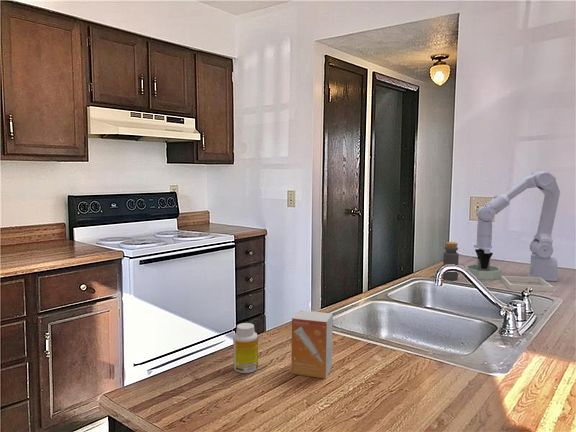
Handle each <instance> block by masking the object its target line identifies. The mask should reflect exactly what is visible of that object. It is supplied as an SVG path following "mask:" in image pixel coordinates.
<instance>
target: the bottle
mask: <svg viewBox="0 0 576 432" xmlns="http://www.w3.org/2000/svg"><path fill="white" fill-rule="evenodd" d="M458 244H459V243H458V242H456V241H455V242H453V241H447V242H445V246H444V250H445V252H443V257H442V258H443V260H442V261H443V263H442V264H443V265H445V264H455V265H458V266H459V252H457V251H458V250H459V248H458ZM458 277H459V272H458V273H457V272H447V273H445V274H444V275H443V274H442V279H443V280H446V281H453V282H454V281H457V280H459V279H458Z"/></svg>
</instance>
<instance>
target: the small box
mask: <svg viewBox="0 0 576 432" xmlns="http://www.w3.org/2000/svg"><path fill="white" fill-rule="evenodd" d="M333 315H334V314H333V313H332V312H331V313H330V312H321V311H310V310H301V309H299V310H298V311H297V312H296V313H295V314H294V315H293V317H292V318H291V367H290V368H291V370H290V371H291V372H290V373H291V375H298V376H299V375H300V376H306V377H312V378H318V379H325V380H326V379H327V377H328V375H329V373H330V372H331V369H332V367H333V322H334V321H333V320H334V317H333Z"/></svg>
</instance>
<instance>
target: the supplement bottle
mask: <svg viewBox="0 0 576 432" xmlns="http://www.w3.org/2000/svg"><path fill="white" fill-rule="evenodd" d="M258 337H259V336H258V333H257V332H256V331H255V325H254V324H253V323H250V322H242V323H239V324H236V332H235V333H234V334H233V337H232V339H233V343H232V344H233V345H232V347H233V369H234V370H235V372H237V373H240V374H250V373H253V372H255V371H257V369H258V367H259V343H258V342H259V340H258V339H259V338H258Z"/></svg>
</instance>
